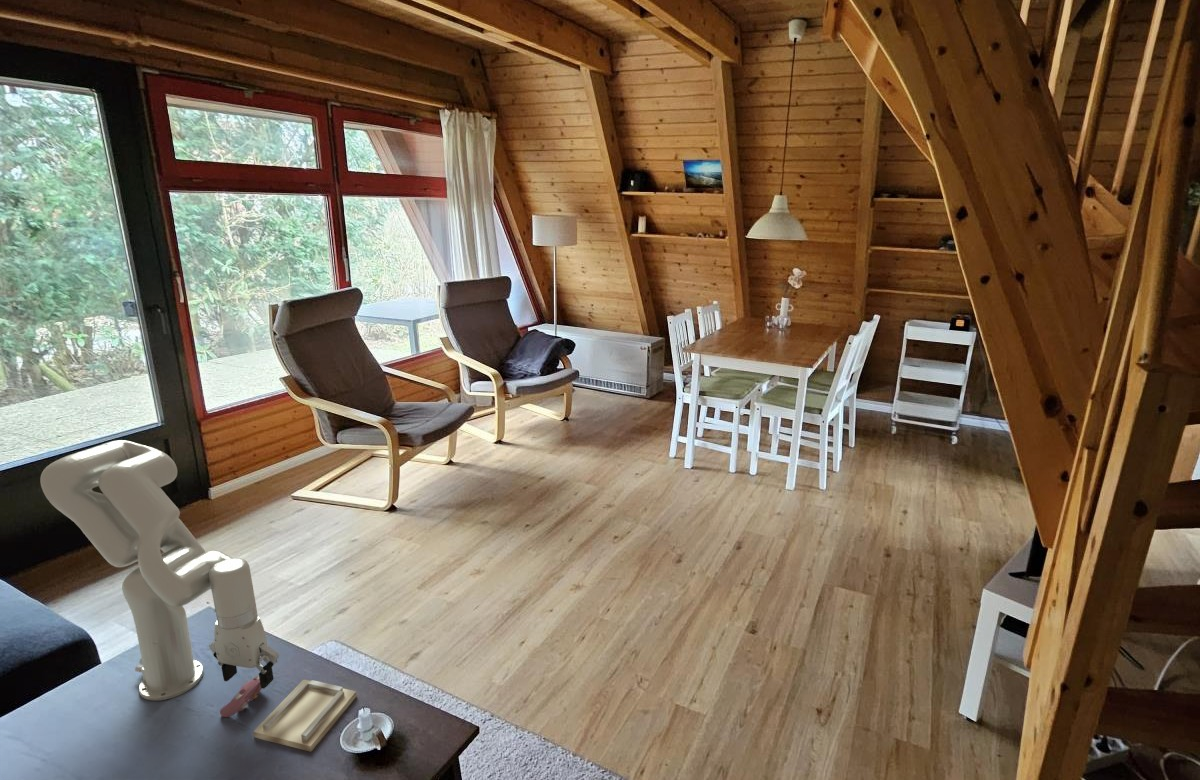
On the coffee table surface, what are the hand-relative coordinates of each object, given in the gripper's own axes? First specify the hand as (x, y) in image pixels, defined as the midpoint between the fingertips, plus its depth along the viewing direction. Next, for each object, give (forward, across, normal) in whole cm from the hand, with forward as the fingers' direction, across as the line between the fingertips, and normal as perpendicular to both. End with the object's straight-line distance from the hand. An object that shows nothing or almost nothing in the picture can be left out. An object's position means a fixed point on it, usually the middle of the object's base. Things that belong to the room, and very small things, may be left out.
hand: (249, 680), depth 140 cm
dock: (+7, +14, +1) cm, 15 cm away
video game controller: (+7, -2, 0) cm, 7 cm away
